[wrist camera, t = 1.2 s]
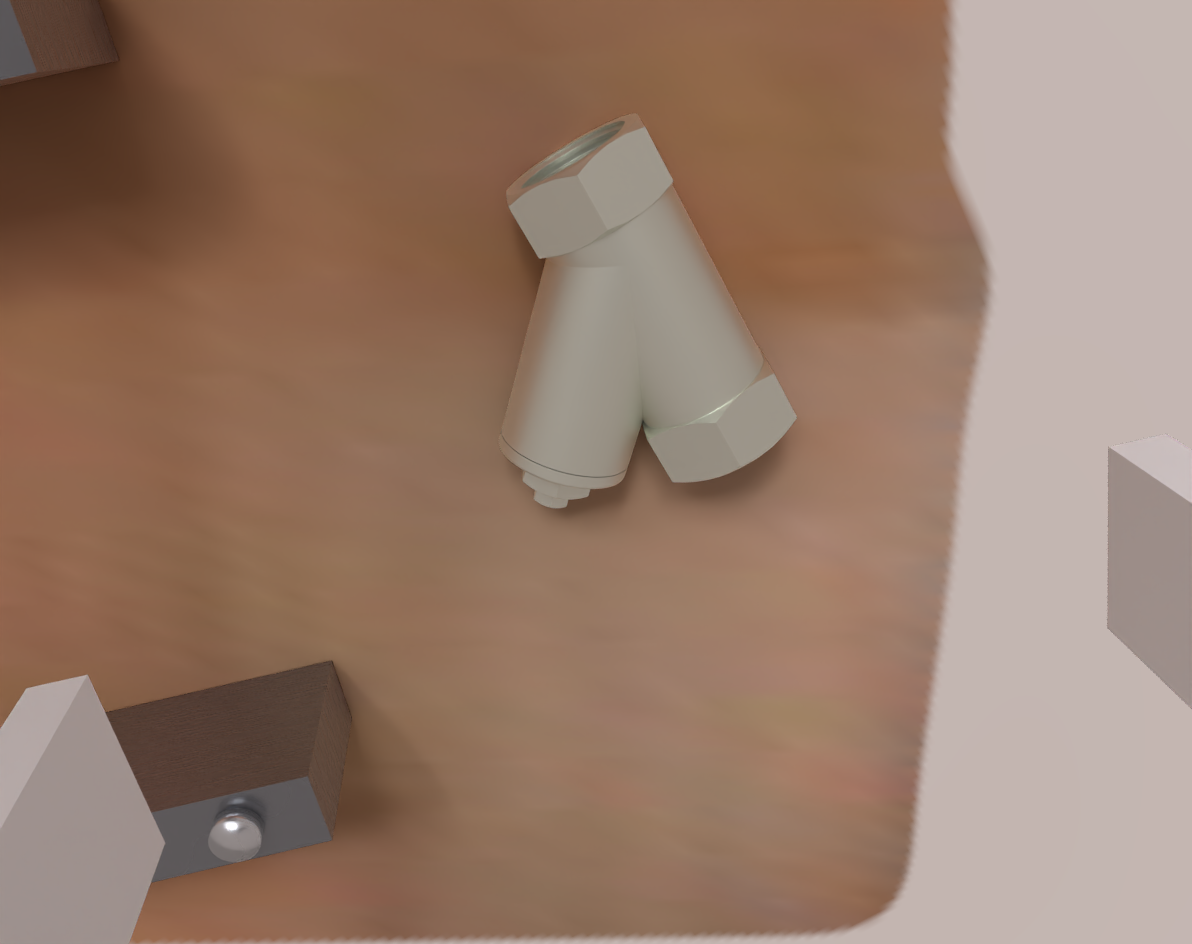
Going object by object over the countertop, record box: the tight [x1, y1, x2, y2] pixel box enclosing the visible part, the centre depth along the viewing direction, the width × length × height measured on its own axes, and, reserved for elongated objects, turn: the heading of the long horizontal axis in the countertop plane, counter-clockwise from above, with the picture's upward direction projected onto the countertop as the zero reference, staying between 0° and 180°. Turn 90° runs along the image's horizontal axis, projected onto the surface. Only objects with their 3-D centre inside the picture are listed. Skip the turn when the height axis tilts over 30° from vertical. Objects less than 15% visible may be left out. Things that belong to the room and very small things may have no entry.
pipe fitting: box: [499, 113, 797, 508], centre depth 26 cm, size 8×4×7 cm
